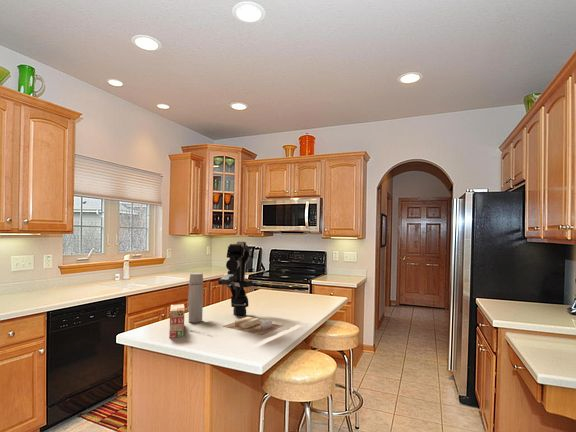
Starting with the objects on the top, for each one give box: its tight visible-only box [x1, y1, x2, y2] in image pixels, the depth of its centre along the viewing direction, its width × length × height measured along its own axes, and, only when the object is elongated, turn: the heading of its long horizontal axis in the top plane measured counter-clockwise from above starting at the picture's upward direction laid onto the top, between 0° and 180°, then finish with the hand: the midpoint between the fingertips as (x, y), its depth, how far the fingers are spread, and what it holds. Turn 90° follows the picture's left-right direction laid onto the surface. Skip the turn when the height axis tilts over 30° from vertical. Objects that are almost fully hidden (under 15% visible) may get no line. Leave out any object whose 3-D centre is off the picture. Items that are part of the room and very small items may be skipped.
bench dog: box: [261, 319, 273, 331], centre depth 161 cm, size 2×7×4 cm, turn 147°
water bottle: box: [186, 272, 204, 324], centre depth 180 cm, size 9×8×25 cm
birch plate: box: [234, 316, 260, 328], centre depth 168 cm, size 7×10×2 cm
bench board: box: [222, 320, 284, 336], centre depth 165 cm, size 24×18×2 cm
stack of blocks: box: [168, 303, 185, 339], centre depth 162 cm, size 21×6×12 cm, turn 18°
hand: (235, 299), depth 172 cm, fingers closed
